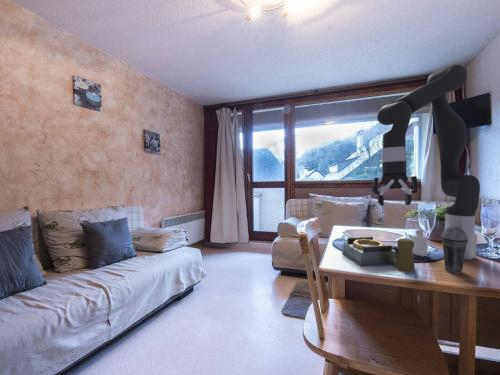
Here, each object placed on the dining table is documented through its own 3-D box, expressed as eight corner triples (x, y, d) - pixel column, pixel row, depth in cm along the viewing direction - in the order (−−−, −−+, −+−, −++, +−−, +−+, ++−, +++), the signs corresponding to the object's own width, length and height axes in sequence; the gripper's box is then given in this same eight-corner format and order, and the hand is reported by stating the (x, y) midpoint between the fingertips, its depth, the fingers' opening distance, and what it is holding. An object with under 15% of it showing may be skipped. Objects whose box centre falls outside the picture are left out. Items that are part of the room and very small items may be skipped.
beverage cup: (472, 273, 84) (474, 215, 83) (457, 276, 82) (459, 217, 81) (450, 265, 91) (451, 212, 90) (435, 268, 89) (436, 213, 88)
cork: (418, 272, 86) (419, 241, 85) (399, 271, 87) (399, 241, 87) (410, 266, 92) (411, 237, 91) (392, 265, 93) (393, 236, 92)
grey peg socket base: (374, 251, 109) (374, 235, 109) (397, 264, 94) (398, 246, 94) (341, 253, 108) (341, 237, 107) (360, 266, 93) (360, 248, 92)
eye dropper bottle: (417, 252, 107) (418, 224, 106) (429, 256, 101) (430, 227, 101) (409, 252, 106) (409, 225, 106) (419, 257, 101) (420, 228, 100)
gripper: (411, 159, 91) (411, 203, 92) (369, 161, 94) (370, 204, 95) (421, 159, 84) (421, 206, 85) (375, 161, 86) (376, 207, 87)
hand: (394, 205), depth 90 cm, fingers open, 8 cm apart
